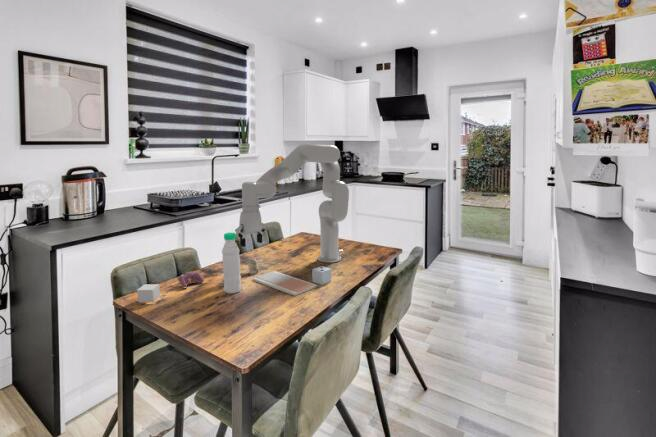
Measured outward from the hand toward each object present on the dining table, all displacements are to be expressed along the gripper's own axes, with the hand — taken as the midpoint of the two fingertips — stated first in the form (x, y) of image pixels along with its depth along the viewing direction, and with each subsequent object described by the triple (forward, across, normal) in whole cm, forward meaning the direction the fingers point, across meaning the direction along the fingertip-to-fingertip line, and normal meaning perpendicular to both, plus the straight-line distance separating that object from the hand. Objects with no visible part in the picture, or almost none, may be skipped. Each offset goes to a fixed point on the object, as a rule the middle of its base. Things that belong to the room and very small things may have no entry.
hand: (251, 244), depth 183 cm
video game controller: (+15, +27, -8) cm, 32 cm away
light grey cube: (+15, +47, -4) cm, 50 cm away
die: (+14, -14, +33) cm, 38 cm away
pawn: (+14, -1, 0) cm, 14 cm away
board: (+14, -1, +22) cm, 26 cm away
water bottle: (+15, +19, +12) cm, 27 cm away
